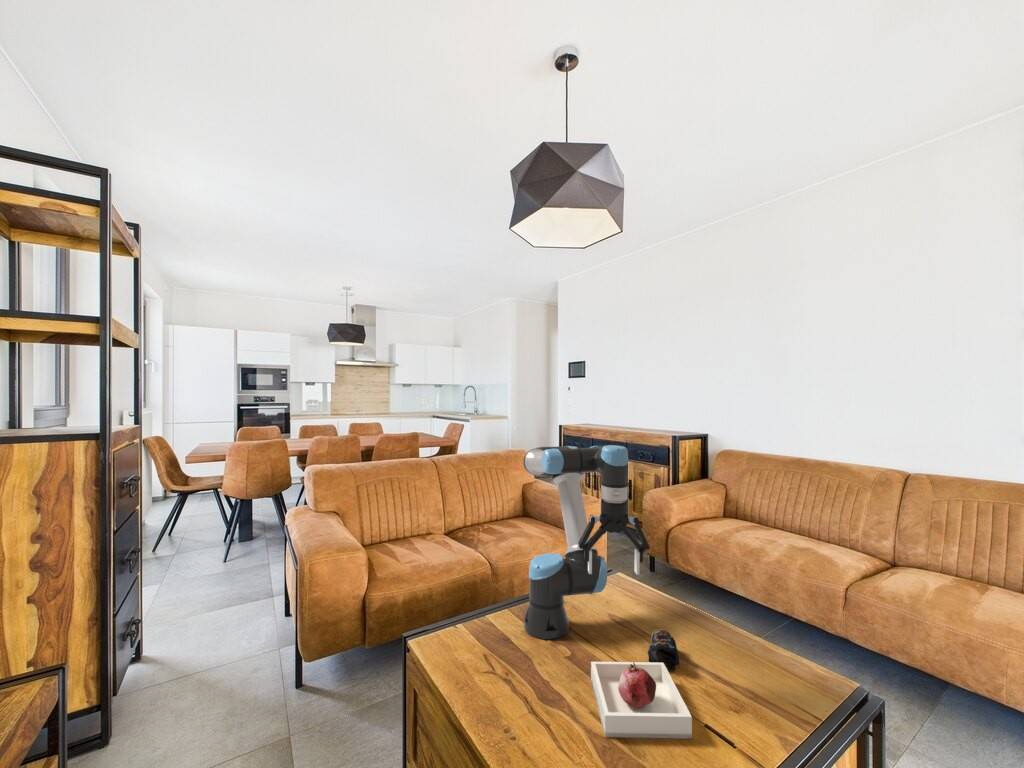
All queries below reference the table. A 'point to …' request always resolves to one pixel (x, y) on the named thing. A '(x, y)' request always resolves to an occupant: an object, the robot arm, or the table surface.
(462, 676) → the table surface
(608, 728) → the dish
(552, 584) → the robot arm
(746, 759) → the table surface
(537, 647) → the table surface
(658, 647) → the figurine
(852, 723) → the table surface
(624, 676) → the fruit
